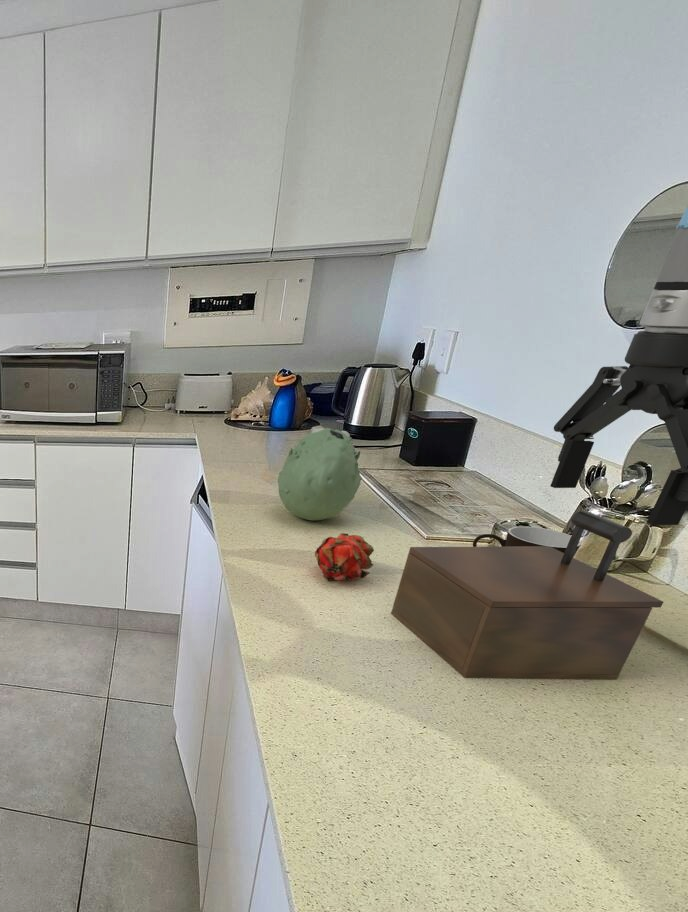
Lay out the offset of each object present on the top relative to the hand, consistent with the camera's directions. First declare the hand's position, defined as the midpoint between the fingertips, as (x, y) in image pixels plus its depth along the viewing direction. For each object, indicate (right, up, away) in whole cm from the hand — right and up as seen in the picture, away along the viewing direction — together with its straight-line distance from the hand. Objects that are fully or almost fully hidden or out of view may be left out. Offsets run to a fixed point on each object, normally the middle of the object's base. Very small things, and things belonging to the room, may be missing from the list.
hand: (608, 504), depth 74 cm
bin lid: (-7, -10, +5) cm, 13 cm away
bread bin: (-7, -20, +9) cm, 23 cm away
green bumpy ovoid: (-6, 0, +55) cm, 55 cm away
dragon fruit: (-16, -11, +29) cm, 35 cm away
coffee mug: (+10, -13, +23) cm, 28 cm away
